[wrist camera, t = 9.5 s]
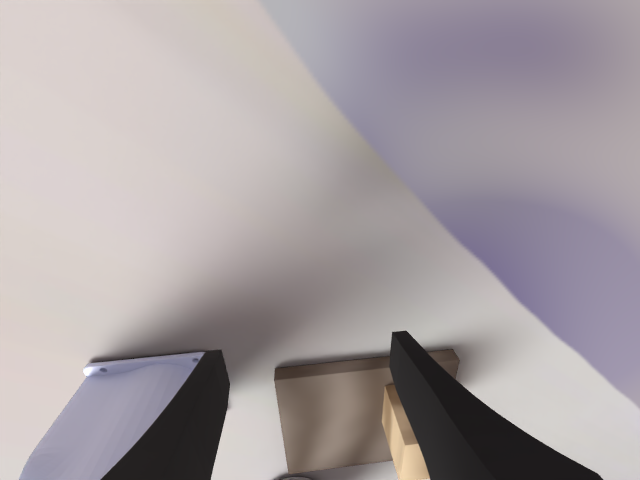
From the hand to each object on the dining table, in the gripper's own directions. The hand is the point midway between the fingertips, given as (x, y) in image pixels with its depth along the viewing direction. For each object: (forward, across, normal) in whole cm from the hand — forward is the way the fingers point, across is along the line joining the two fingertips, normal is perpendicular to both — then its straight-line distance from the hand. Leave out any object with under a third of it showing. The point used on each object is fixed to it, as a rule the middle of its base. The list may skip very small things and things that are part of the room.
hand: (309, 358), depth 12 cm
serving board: (+9, -5, +18) cm, 21 cm away
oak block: (+8, -9, +16) cm, 20 cm away
